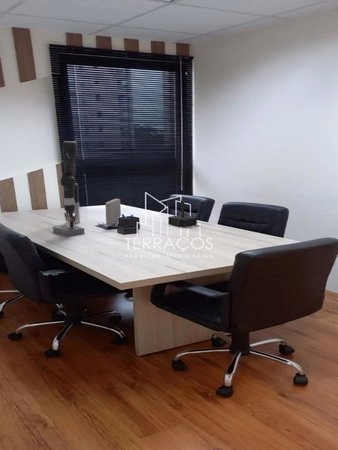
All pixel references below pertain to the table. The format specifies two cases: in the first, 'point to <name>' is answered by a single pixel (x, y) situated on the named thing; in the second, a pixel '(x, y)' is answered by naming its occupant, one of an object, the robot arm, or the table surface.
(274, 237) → the table surface
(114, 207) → the network device
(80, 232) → the switch panel
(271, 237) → the table surface
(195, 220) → the dark pedestal with post
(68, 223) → the lever
